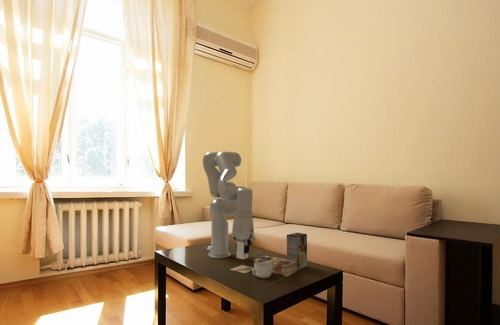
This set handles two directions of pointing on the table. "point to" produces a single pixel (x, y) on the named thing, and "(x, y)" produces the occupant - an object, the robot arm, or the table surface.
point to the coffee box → (297, 249)
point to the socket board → (279, 265)
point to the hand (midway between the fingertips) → (242, 251)
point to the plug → (241, 249)
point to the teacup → (263, 269)
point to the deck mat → (243, 269)
